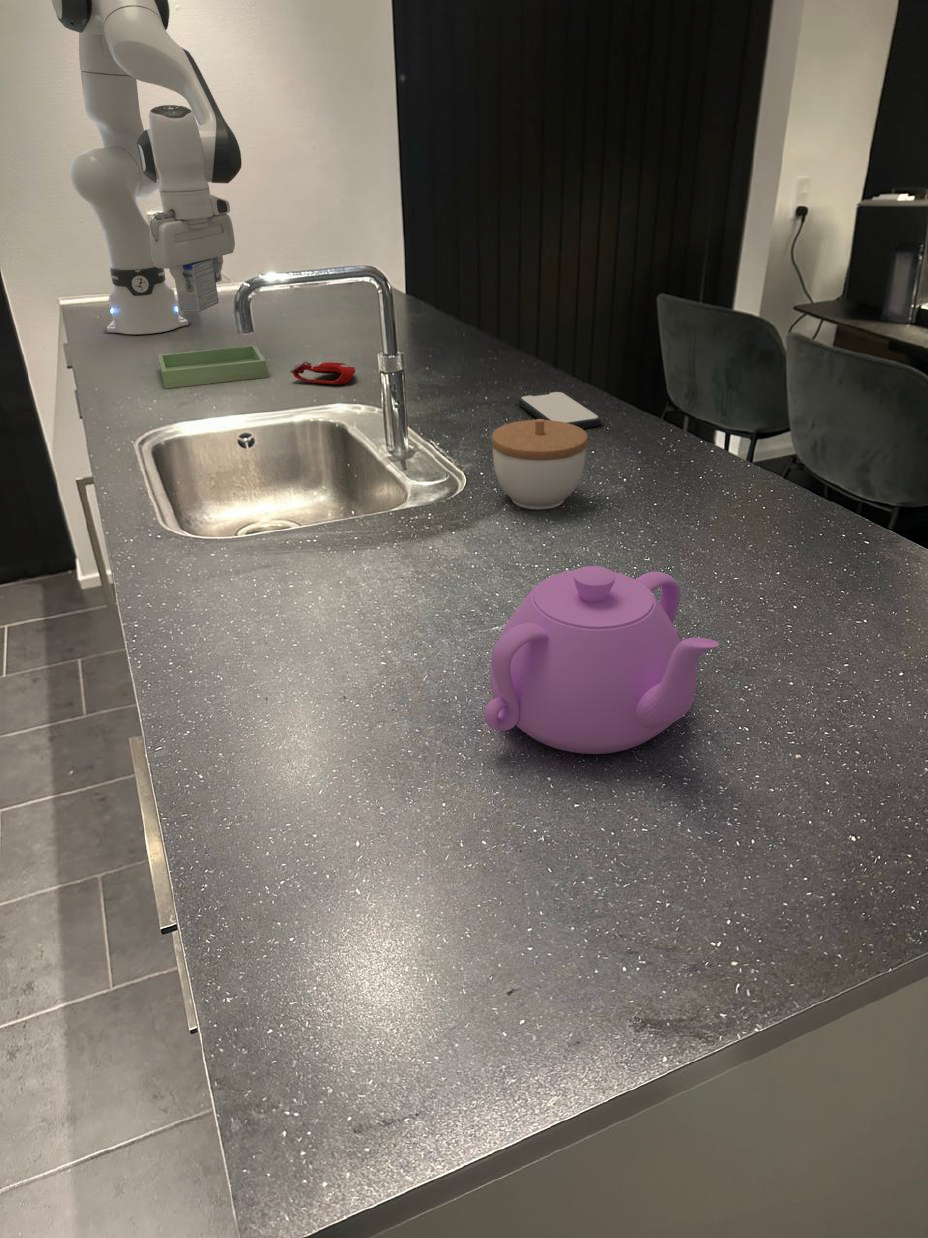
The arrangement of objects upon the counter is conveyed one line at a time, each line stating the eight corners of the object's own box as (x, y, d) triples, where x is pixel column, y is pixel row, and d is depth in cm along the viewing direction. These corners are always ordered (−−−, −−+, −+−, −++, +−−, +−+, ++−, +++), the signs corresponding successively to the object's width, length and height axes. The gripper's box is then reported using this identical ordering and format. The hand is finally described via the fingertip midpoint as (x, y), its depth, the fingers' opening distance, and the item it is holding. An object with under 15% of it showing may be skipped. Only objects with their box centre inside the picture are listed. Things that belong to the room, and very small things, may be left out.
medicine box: (199, 303, 179) (191, 256, 174) (219, 303, 178) (212, 257, 173) (179, 311, 172) (171, 263, 168) (200, 312, 171) (192, 264, 167)
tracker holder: (340, 364, 181) (367, 361, 173) (340, 387, 182) (367, 385, 174) (285, 360, 174) (310, 357, 166) (286, 384, 174) (311, 382, 167)
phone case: (603, 427, 149) (561, 399, 162) (604, 418, 148) (561, 390, 161) (554, 434, 146) (516, 405, 159) (554, 425, 145) (516, 396, 158)
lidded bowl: (558, 476, 130) (561, 400, 124) (601, 508, 119) (606, 427, 114) (477, 489, 126) (476, 412, 120) (514, 524, 116) (515, 441, 110)
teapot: (597, 848, 66) (609, 694, 59) (431, 708, 81) (424, 573, 74) (786, 736, 77) (815, 594, 70) (608, 631, 92) (617, 507, 85)
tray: (160, 370, 184) (157, 354, 182) (257, 360, 189) (255, 344, 188) (165, 388, 173) (162, 371, 171) (267, 377, 178) (265, 360, 177)
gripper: (162, 214, 156) (178, 297, 163) (234, 201, 172) (245, 277, 179) (134, 213, 159) (150, 295, 166) (208, 200, 175) (220, 276, 182)
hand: (200, 286), depth 173 cm, fingers closed on medicine box, 8 cm apart
